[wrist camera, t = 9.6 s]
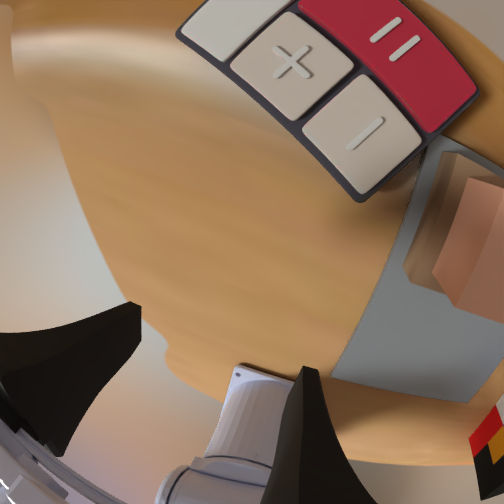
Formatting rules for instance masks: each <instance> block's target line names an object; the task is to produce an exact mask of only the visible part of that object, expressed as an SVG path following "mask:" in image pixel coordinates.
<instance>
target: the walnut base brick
mask: <svg viewBox="0 0 504 504" xmlns="http://www.w3.org/2000/svg"><path fill="white" fill-rule="evenodd" d="M468 177H470V178H473V179H476V180H479V181H483V182H486V183H489V184H491V185H494V186H497V187H500V188H503V189H504V179H502V178H501V177H499V176H497V175H496V174H494V173H492V172H491V171H489V170H487V169H486V168H484V167H482V166H480V165H479V164H477V163H475V162H473V161H471V160H470V159H468V158H466V157H464V156H462V155H460V154H458V153H451V152H442V153H441V157H440V160H439V164H438V168H437V171H436V174H435V178H434V181H433V184H432V187H431V191H430V194H429V197H428V200H427V203H426V206H425V208H424V211H423V214H422V217H421V220H420V222H419V225H418V228H417V230H416V233H415V236H414V238H413V241H412V243H411V246H410V248H409V251H408V253H407V255H406V258H405V260H404V262H403V265H402V267H403V269H404V271H405V273H406V275H407V277H408V279H409V280H410V282H411V283H413V284H416V285H419V286H422V287H425V288H428V289H430V290H433V291H436V292H439V293H442V294H445V295H446V293H445V292H444V290H443V289H442V287H441V286H440V284H439V283H438V281H437V280H436V278H435V277H434V275H433V274H432V271H433V269H434V266H435V264H436V262H437V260H438V258H439V255H440V253H441V251H442V248H443V246H444V244H445V241H446V239H447V236H448V234H449V231H450V229H451V226H452V223H453V221H454V218H455V215H456V212H457V210H458V207H459V204H460V201H461V198H462V195H463V192H464V189H465V186H466V182H467V179H468Z"/></svg>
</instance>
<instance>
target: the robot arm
mask: <svg viewBox="0 0 504 504" xmlns="http://www.w3.org/2000/svg"><path fill="white" fill-rule="evenodd" d="M140 342H141V306H140V305H137V304H135V303H133V302H131V301H130V302H127V303H124V304H122V305H119V306H117V307H114V308H112V309H109V310H107V311H104V312H101V313H99V314H96V315H94V316H91V317H88V318H85V319H83V320H79V321H77V322H73V323H71V324H67V325H63V326H60V327H55V328H51V329H46V330H39V331H32V332H21V333H0V482H1V483H2V484H3V486H2V487H1V488H0V504H69V503H68V502H67V501H65V498H66V497H67V496H68V492H67V491H66V490H65V489H64V488H62V487H61V486H60V485H59V484H58V483H57V482H56V481H55V480H54V479H53V478H52V477H51V476H50V475H49V474H48V473H46V472H45V471H44V470H43V469H42V468H41V467H40V466H38V462H39V463H41V464H42V465H43V466H44V467H46V468H47V469H48V470H49V471H50V472H52V473H53V474H54V475H55V476H57V477H58V478H59V479H61V480H62V481H63V482H65V483H66V484H67V485H69V486H70V487H72V488H73V489H74V490H76V491H77V492H79V493H80V494H82V495H83V496H85V497H86V498H88V499H89V500H91V501H92V502H94V503H96V504H127V503H125V502H123V501H121V500H119V499H118V498H116V497H114V496H112V495H110V494H109V493H107V492H105V491H104V490H102V489H100V488H99V487H97V486H96V485H94V484H92V483H91V482H89V481H88V480H86V479H85V478H83V477H82V476H80V475H79V474H77V473H76V472H75V471H73V470H72V469H70V468H69V467H68V466H66V465H65V464H64V463H62V462H61V461H60V460H58V459H57V458H56V457H62V456H63V455H64V453H65V450H66V448H67V446H68V444H69V442H70V440H71V438H72V436H73V434H74V432H75V430H76V428H77V426H78V425H79V423H80V421H81V420H82V418H83V416H84V415H85V413H86V411H87V410H88V408H89V407H90V405H91V404H92V402H93V401H94V399H95V398H96V396H97V395H98V393H99V392H100V391H101V390H102V388H103V387H104V386H105V385H106V384H107V383H108V382H109V381H110V379H111V378H112V377H113V376H114V375H115V374H116V373H117V372H118V370H119V369H120V368H121V367H122V366H123V365H124V364H125V363H126V361H127V360H128V359H129V358H130V357H131V355H132V354H133V352H134V351H135V349H136V348H137V346H138V345H139V343H140ZM238 373H240V374H238ZM36 441H37V442H36ZM42 446H43V447H42ZM47 450H48V451H49V452H48V451H47ZM52 454H53V455H54V456H53V455H52ZM155 504H377V503H376V502H375V501H374V499H373V498H372V497H371V496H370V495H369V493H368V492H367V490H366V489H365V488H364V486H363V485H362V483H361V482H360V481H359V479H358V477H357V475H356V474H355V473H354V471H353V469H352V467H351V466H350V464H349V462H348V460H347V458H346V456H345V454H344V452H343V450H342V448H341V446H340V443H339V441H338V439H337V436H336V434H335V431H334V428H333V425H332V423H331V420H330V417H329V413H328V410H327V406H326V403H325V399H324V395H323V391H322V386H321V382H320V376H319V372H318V370H317V369H314V368H310V367H306V366H303V367H302V369H301V371H300V373H299V375H298V377H297V379H296V381H295V382H293V381H290V380H286V379H283V378H280V377H276V376H273V375H270V374H267V373H264V372H260V371H257V370H254V369H251V368H248V367H245V366H243V365H236V366H235V368H234V371H233V374H232V378H231V381H230V385H229V388H228V392H227V395H226V398H225V402H224V406H223V409H222V412H221V416H220V420H219V423H218V425H217V427H216V429H215V432H214V434H213V436H212V438H211V440H210V443H209V445H208V447H207V449H206V451H205V454H204V456H203V458H200V457H194V459H193V461H192V463H191V465H190V466H188V465H181V466H180V467H177V468H176V469H175V470H173V471H171V472H170V473H169V474H168V475H167V476H166V478H165V479H164V480H163V482H162V484H161V485H160V488H159V490H158V492H157V495H156V499H155Z"/></svg>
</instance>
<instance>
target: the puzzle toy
mask: <svg viewBox="0 0 504 504" xmlns="http://www.w3.org/2000/svg"><path fill="white" fill-rule="evenodd" d="M469 442H470V446H471V450H472V455H473V459H474V464H475V469H476V474H477V479H478V486H479V492H480V499H481V500H485V499H488V498H491V497H494V496H497V495H500V494H502V493H504V393H503V395H502V396H501V398H500V399H499V401H498V402H497V403H496V405H495V406H494V407H493V409H492V410H491V412H490V413H489V414H488V415H487V417H486V418H485V419H484V421H483V422H482V423H481V424H480V426H479V427H478V428H477V429H476V430H475V432H474V433H473V434H472V435H471V436H470V438H469Z"/></svg>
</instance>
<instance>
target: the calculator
mask: <svg viewBox="0 0 504 504" xmlns="http://www.w3.org/2000/svg"><path fill="white" fill-rule="evenodd" d="M175 35H176V38H177V39H179V40H180V41H181V42H183V43H184V44H186V45H187V46H188V47H190V48H191V49H192V50H194V51H195V52H196V53H198V54H199V55H200V56H202V57H203V58H204V59H206V60H207V61H208V62H210V63H211V64H212V65H213V66H215V67H216V68H217V69H218V70H220V71H221V72H222V73H223V74H225V75H226V76H227V77H228V78H230V79H231V80H232V81H233V82H234V83H236V84H237V85H238V86H239V87H240V88H241V89H243V90H244V91H245V92H246V93H247V94H248V95H250V96H251V97H252V98H253V99H254V100H255V101H256V102H258V103H259V104H260V105H261V106H262V107H263V108H264V109H265V110H266V111H268V112H269V113H270V114H271V115H272V116H273V117H274V118H275V119H276V120H277V121H278V122H279V123H280V124H282V125H283V126H284V127H285V128H286V129H287V130H288V131H289V132H290V133H291V134H292V135H293V136H294V137H295V138H296V139H297V140H298V141H299V142H300V143H301V144H302V145H303V146H304V147H305V148H306V149H307V150H308V151H309V152H310V153H311V154H312V155H313V156H314V157H315V158H316V159H317V160H318V161H319V162H320V163H321V164H322V166H323V167H324V168H325V169H326V170H327V171H328V172H329V173H330V174H331V175H332V176H333V177H334V178H335V180H336V181H337V182H338V183H339V184H340V185H341V186H342V187H343V188H344V190H345V191H346V192H347V193H348V194H349V195H350V196H351V197H352V199H353V200H354V201H356V202H358V203H363V202H365V201H366V200H367V199H368V198H370V197H371V196H372V195H373V194H374V193H375V192H376V191H378V190H379V189H380V188H381V187H382V186H383V185H384V184H386V183H387V182H388V181H389V180H390V179H391V178H392V177H393V176H395V175H396V174H397V173H398V172H399V171H400V170H401V169H402V168H403V167H405V166H406V165H407V164H408V163H409V162H410V161H411V160H412V159H413V158H415V157H416V156H417V155H418V154H419V153H420V152H421V151H422V150H423V149H424V148H425V147H427V146H428V145H429V144H430V143H431V142H432V141H433V140H434V139H435V138H436V137H437V136H438V135H439V134H441V133H442V132H443V131H444V130H445V129H446V128H447V127H448V126H449V125H450V124H451V123H452V122H453V121H454V120H455V119H456V118H457V117H458V116H460V115H461V114H462V113H463V112H464V111H465V110H466V109H467V108H468V107H469V106H470V105H471V104H472V103H473V102H474V101H475V100H476V99H477V98H478V97H479V95H480V90H479V88H478V86H477V85H476V83H475V82H474V80H473V79H472V78H471V76H470V75H469V74H468V72H467V71H466V70H465V68H464V67H463V66H462V65H461V63H460V62H459V61H458V60H457V58H456V57H455V56H454V55H453V53H452V52H451V51H450V50H449V49H448V48H447V46H446V45H445V44H444V43H443V42H442V41H441V40H440V39H439V38H438V36H437V35H436V34H435V33H434V32H433V31H432V30H431V29H430V28H429V27H428V26H427V25H426V24H425V23H424V22H423V21H422V20H421V19H420V18H419V17H418V16H417V15H416V14H415V13H414V12H413V11H412V10H411V9H409V8H408V7H407V6H406V5H405V4H404V3H403V2H402V1H401V0H205V1H204V2H203V3H202V4H201V5H200V6H199V7H198V8H197V9H196V10H195V11H194V12H193V13H192V14H191V15H190V16H189V17H188V18H187V19H186V21H185V22H184V23H183V24H182V25H181V26H180V27H179V28H178V29H177V31H176V33H175Z"/></svg>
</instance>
